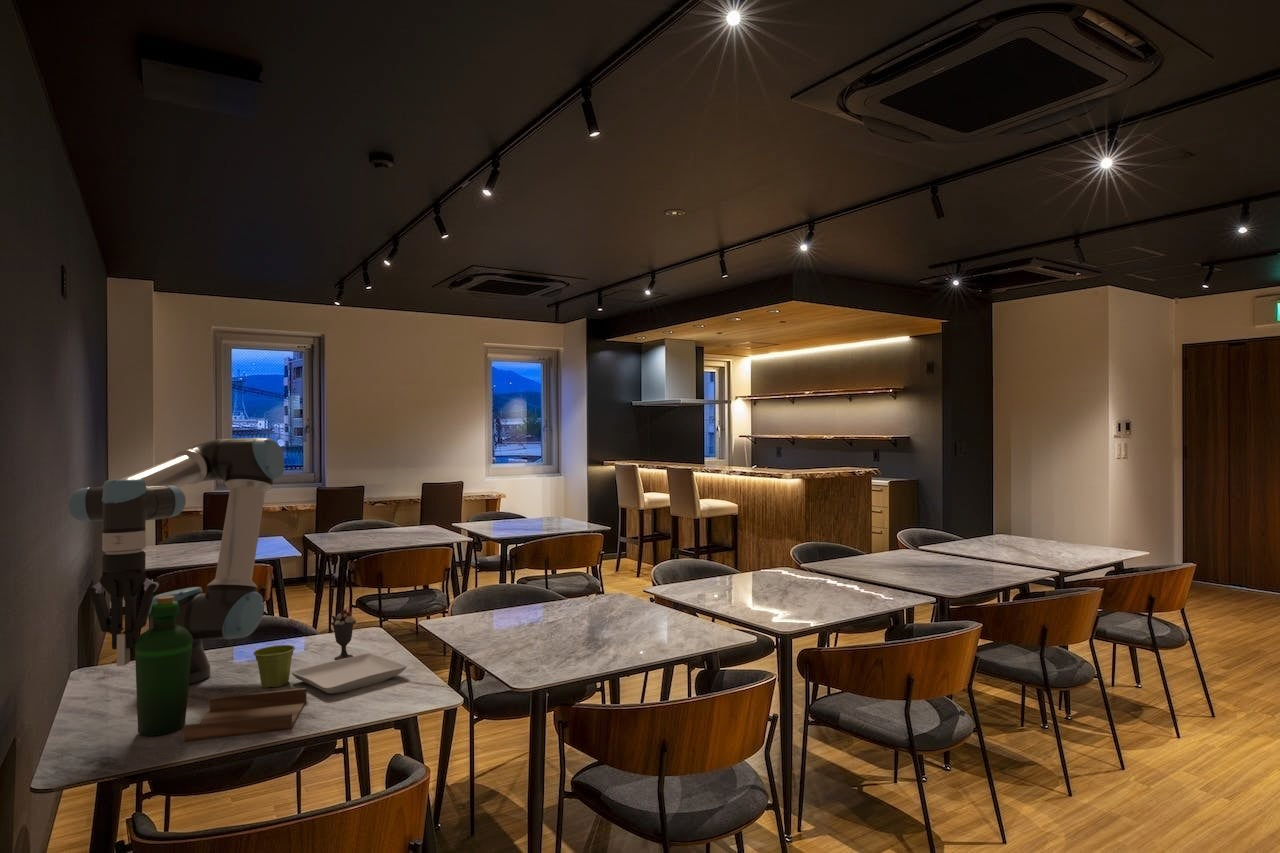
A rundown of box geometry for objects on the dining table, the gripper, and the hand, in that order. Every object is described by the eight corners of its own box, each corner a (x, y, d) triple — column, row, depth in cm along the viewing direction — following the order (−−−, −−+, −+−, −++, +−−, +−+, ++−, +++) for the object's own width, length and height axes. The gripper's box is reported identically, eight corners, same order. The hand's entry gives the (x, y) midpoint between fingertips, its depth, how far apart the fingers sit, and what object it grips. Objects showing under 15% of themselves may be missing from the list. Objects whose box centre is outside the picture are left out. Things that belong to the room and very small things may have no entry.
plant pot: (247, 686, 182) (246, 651, 182) (284, 676, 190) (283, 642, 190) (265, 693, 176) (264, 657, 177) (302, 682, 184) (302, 648, 184)
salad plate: (290, 683, 184) (289, 670, 184) (369, 663, 200) (369, 651, 200) (326, 702, 170) (326, 687, 170) (409, 679, 185) (408, 665, 186)
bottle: (180, 715, 162) (184, 590, 163) (198, 728, 155) (202, 596, 156) (123, 730, 154) (128, 597, 154) (140, 743, 147) (145, 604, 148)
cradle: (211, 711, 165) (211, 697, 165) (306, 700, 170) (306, 687, 170) (184, 741, 148) (184, 726, 148) (291, 729, 153) (291, 714, 153)
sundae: (361, 656, 206) (360, 603, 207) (340, 662, 200) (340, 608, 201) (347, 653, 210) (346, 601, 210) (326, 659, 204) (325, 605, 204)
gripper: (79, 555, 148) (78, 672, 147) (151, 552, 152) (151, 666, 151) (97, 551, 156) (96, 662, 155) (165, 547, 159) (165, 656, 158)
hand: (123, 663), depth 153 cm, fingers closed
